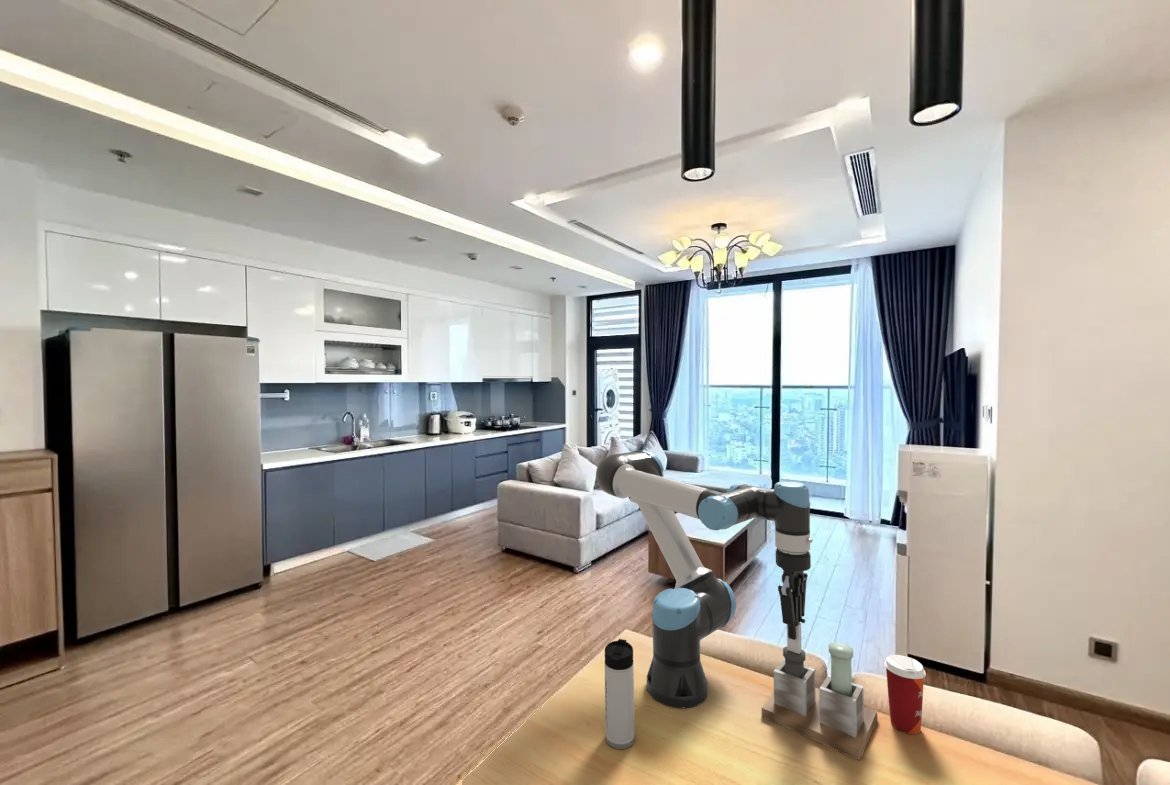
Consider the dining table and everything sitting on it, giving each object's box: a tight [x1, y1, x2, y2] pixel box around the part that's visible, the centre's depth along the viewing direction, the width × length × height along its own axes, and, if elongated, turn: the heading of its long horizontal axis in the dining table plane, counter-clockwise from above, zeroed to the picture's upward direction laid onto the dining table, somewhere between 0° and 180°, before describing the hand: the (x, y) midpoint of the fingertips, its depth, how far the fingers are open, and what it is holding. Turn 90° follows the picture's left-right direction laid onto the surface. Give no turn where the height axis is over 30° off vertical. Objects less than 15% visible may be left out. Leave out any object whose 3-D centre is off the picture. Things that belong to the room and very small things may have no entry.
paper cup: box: [883, 654, 927, 735], centre depth 107 cm, size 8×8×14 cm
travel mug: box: [604, 638, 636, 750], centre depth 104 cm, size 6×7×20 cm
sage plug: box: [828, 641, 854, 697], centre depth 105 cm, size 5×5×11 cm
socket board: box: [761, 657, 878, 761], centre depth 109 cm, size 20×16×10 cm
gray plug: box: [782, 646, 806, 679], centre depth 112 cm, size 5×5×11 cm
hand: (794, 650), depth 112 cm, fingers closed
